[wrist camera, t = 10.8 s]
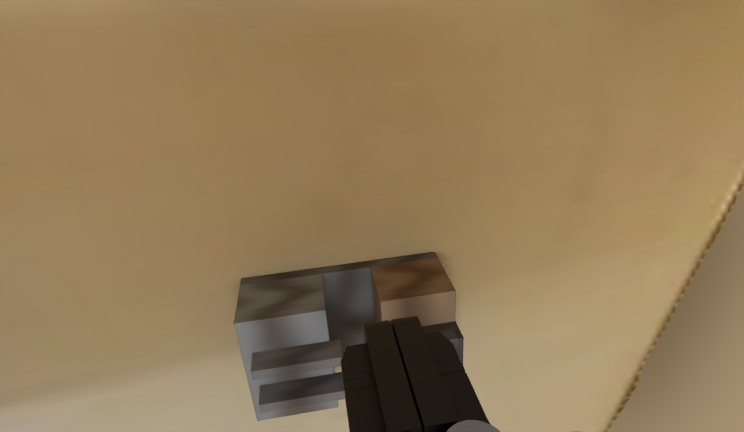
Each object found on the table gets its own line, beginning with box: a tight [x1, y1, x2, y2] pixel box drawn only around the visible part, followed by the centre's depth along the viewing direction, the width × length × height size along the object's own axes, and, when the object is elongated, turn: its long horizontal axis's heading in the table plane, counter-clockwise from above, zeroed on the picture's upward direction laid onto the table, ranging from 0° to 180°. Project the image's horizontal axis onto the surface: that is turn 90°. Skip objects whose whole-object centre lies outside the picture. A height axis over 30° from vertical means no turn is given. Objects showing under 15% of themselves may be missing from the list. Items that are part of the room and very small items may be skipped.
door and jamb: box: [234, 252, 463, 421], centre depth 47 cm, size 20×12×10 cm, turn 94°
